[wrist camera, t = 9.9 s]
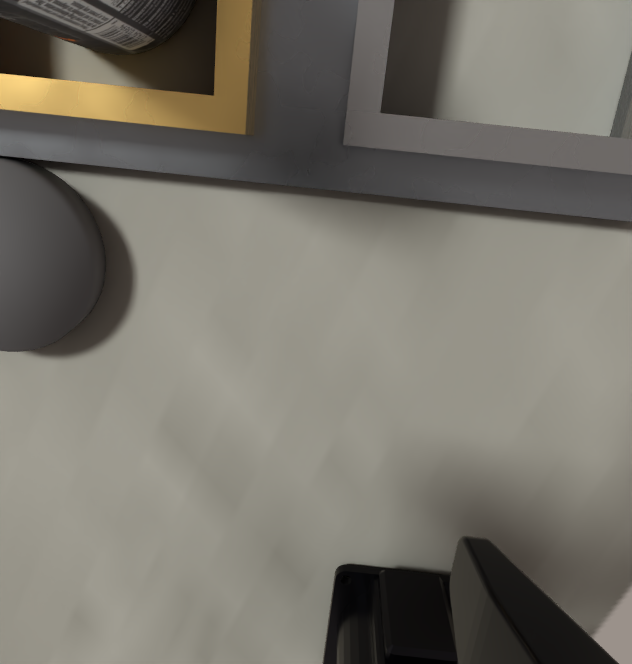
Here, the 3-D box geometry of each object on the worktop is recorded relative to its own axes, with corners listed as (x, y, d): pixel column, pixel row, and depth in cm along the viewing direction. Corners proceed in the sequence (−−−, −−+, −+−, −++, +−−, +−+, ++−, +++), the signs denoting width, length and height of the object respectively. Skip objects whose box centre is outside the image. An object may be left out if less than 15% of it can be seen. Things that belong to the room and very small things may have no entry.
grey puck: (145, 260, 21) (132, 270, 19) (32, 368, 23) (13, 385, 21) (-5, 112, 19) (-31, 112, 18) (-116, 243, 21) (-147, 252, 19)
